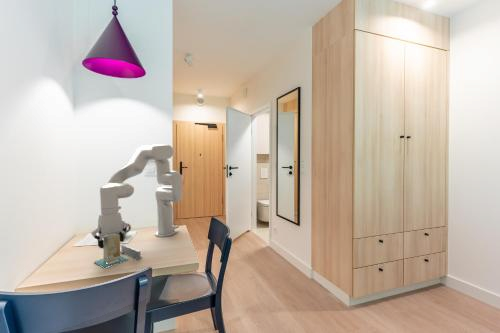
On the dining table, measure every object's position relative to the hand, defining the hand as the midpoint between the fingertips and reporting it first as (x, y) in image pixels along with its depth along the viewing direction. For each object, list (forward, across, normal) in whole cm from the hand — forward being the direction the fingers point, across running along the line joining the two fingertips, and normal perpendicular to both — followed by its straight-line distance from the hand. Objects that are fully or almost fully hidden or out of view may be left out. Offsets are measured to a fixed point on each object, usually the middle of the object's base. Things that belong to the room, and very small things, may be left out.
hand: (111, 244), depth 120 cm
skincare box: (+8, 0, 0) cm, 8 cm away
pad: (+8, +1, 0) cm, 9 cm away
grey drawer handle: (+9, -9, +1) cm, 12 cm away
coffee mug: (+9, -20, -31) cm, 38 cm away
